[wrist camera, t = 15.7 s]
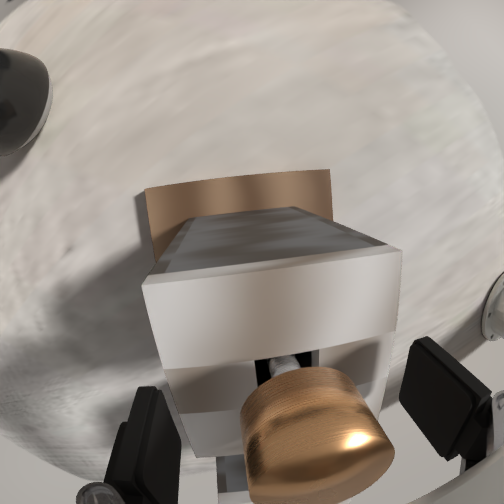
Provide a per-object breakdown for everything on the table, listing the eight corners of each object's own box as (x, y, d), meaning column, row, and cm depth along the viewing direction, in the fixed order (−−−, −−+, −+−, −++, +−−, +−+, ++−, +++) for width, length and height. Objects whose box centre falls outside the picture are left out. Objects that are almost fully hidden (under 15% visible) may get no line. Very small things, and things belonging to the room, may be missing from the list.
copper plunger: (285, 219, 25) (470, 348, 5) (290, 296, 26) (405, 492, 7) (201, 229, 24) (148, 421, 4) (213, 307, 26) (217, 536, 6)
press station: (323, 169, 26) (464, 168, 9) (324, 413, 34) (372, 518, 17) (148, 188, 25) (36, 210, 8) (203, 432, 32) (205, 549, 15)
